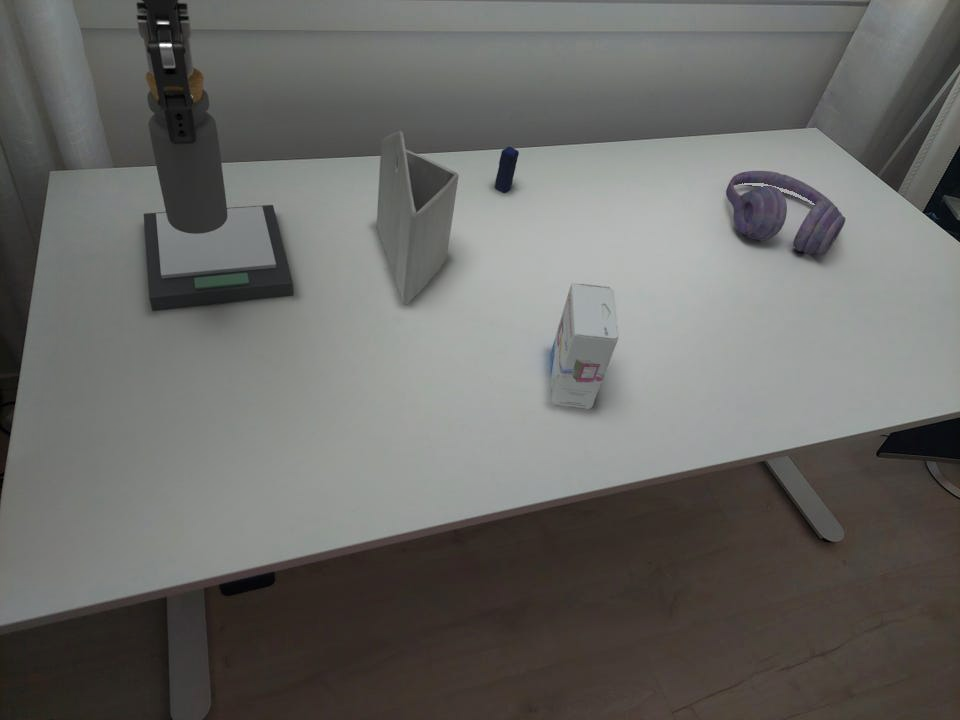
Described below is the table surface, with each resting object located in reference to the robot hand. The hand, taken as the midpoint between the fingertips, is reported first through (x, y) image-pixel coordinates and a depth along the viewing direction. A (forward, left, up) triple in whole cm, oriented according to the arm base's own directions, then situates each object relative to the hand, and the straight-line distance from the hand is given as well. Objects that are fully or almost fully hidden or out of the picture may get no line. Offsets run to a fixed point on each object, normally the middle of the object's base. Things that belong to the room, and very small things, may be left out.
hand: (181, 122), depth 66 cm
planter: (+27, +6, -25) cm, 37 cm away
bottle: (0, 0, -11) cm, 11 cm away
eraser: (+45, +21, -25) cm, 55 cm away
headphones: (+88, +7, -25) cm, 91 cm away
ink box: (+39, -18, -25) cm, 49 cm away
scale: (+2, +10, -25) cm, 27 cm away
